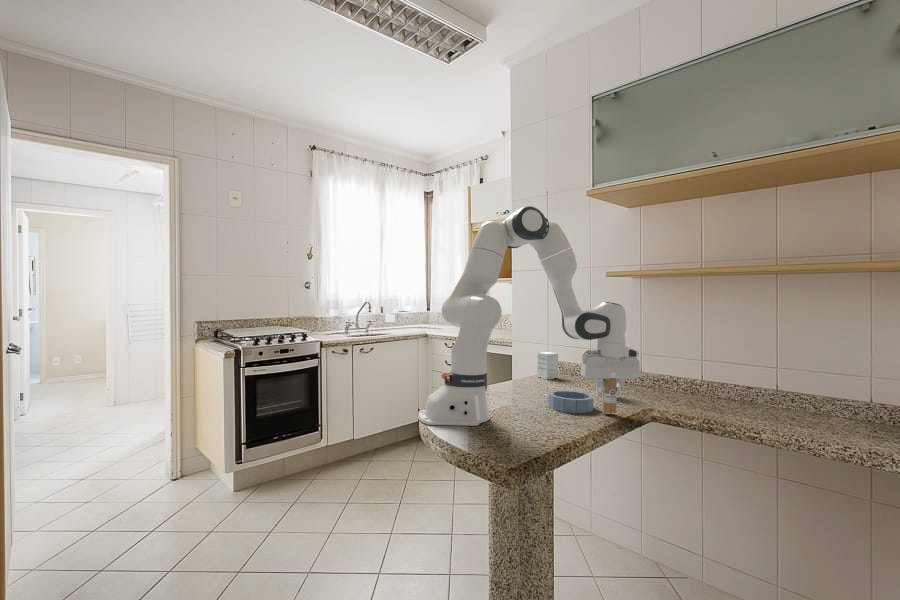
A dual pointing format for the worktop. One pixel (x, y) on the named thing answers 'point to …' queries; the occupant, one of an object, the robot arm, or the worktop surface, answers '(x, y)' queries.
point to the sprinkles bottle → (609, 394)
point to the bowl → (571, 401)
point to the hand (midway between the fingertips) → (609, 391)
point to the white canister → (547, 365)
